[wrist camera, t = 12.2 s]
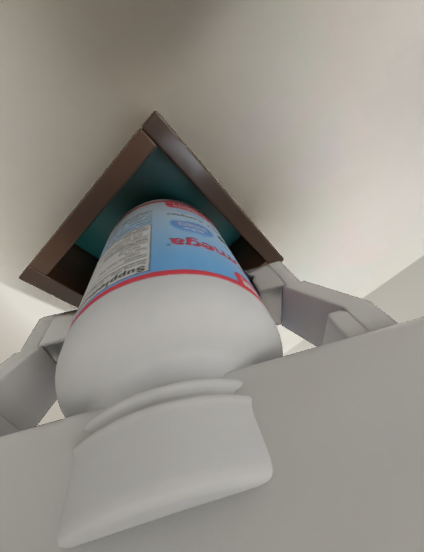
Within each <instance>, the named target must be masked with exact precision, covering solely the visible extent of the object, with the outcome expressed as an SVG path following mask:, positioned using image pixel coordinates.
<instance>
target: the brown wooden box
mask: <svg viewBox="0 0 424 552" xmlns="http://www.w3.org/2000/svg"><path fill="white" fill-rule="evenodd" d="M157 199H172V200H178V201H182V202H185V203H187V204H190V205H192V206H194V207H196V208H197V209H199V210H200V211H201V212H203V213H204V214H205V215H206V216H207V217H208V218H209V219H210V220H211V222H212V223H213V224H214V226H215V227H216V229H217V230H218V232H219V234H220V235H221V237H222V238H223V240H224V241H225V243H226V245H227V246H228V248H229V249H230V251H231V253H232V254H233V256H234V257H235V259H236V261H237V262H238V264H239V265H240V267H241V269H242V270H243V271H244V270H248V269H252V268H256V267H260V266H264V265H267V264H270V263H274V262H278V261H280V262H282V261H283V260H284V259H283V257H282V256H281V255H280V254H279V253H278V251H277V250H276V249H275V248H274V247H273V246H272V244H271V243H270V242H269V241H268V240H267V239H266V237H265V236H264V235H263V234H262V233H261V232H260V231H259V229H258V228H257V227H256V226H255V225H254V224H253V222H252V221H251V220H250V219H249V218H248V217H247V215H246V214H245V213H244V212H243V211H242V210H241V208H240V207H239V206H238V205H237V204H236V203H235V201H234V200H233V199H232V198H231V197H230V196H229V195H228V193H227V192H226V191H225V190H224V189H223V188H222V186H221V185H220V184H219V183H218V182H217V181H216V179H215V178H214V177H213V176H212V175H211V174H210V172H209V171H208V170H207V169H206V168H205V167H204V165H203V164H202V163H201V162H200V161H199V160H198V158H197V157H196V156H195V155H194V154H193V153H192V152H191V150H190V149H189V148H188V147H187V146H186V145H185V143H184V142H183V141H182V140H181V139H180V138H179V136H178V135H177V134H176V133H175V132H174V131H173V129H172V128H171V127H170V126H169V125H168V124H167V122H166V121H165V120H164V119H163V118H162V117H161V115H160V114H159V113H158V112H157V111H154V112H153V113H152V114H151V115H150V117H149V118H148V119H147V120H146V121H145V123H144V124H143V125H142V129H139V130H138V131H137V133H136V134H135V135H134V136H133V137H132V139H131V140H130V141H129V142H128V144H127V145H126V146H125V147H124V149H123V150H122V151H121V152H120V153H119V155H118V156H117V157H116V158H115V160H114V161H113V162H112V163H111V164H110V166H109V167H108V168H107V169H106V171H105V172H104V173H103V174H102V176H101V177H100V178H99V179H98V180H97V182H96V183H95V184H94V185H93V187H92V188H91V189H90V190H89V192H88V193H87V194H86V195H85V196H84V198H83V199H82V200H81V201H80V203H79V204H78V205H77V206H76V208H75V209H74V210H73V211H72V212H71V214H70V215H69V216H68V217H67V219H66V220H65V221H64V222H63V224H62V225H61V226H60V227H59V228H58V230H57V231H56V232H55V233H54V235H53V236H52V237H51V238H50V240H49V241H48V242H47V243H46V244H45V246H44V247H43V248H42V249H41V251H40V252H39V253H38V254H37V256H36V257H35V258H34V259H33V260H32V262H31V263H30V264H29V265H28V267H27V268H26V269H25V270H24V271H23V273H22V274H21V275H20V276H19V279H21V280H23V281H25V282H27V283H29V284H31V285H33V286H35V287H37V288H39V289H41V290H43V291H45V292H47V293H49V294H51V295H53V296H55V297H57V298H59V299H61V300H63V301H65V302H67V303H69V304H71V305H73V306H75V307H77V308H79V305H80V303H81V301H82V298H83V296H84V294H85V291H86V289H87V287H88V284H89V282H90V280H91V277H92V275H93V273H94V270H95V268H96V266H97V263H98V261H99V259H100V257H101V254H102V252H103V249H104V247H105V245H106V242H107V240H108V238H109V235H110V233H111V232H112V230H113V228H114V227H115V225H116V224H117V223H118V221H119V220H120V219H121V218H122V217H123V216H124V215H125V214H126V213H127V212H129V211H130V210H131V209H133V208H134V207H136V206H138V205H140V204H142V203H145V202H148V201H151V200H157Z"/></svg>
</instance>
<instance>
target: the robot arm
mask: <svg viewBox="0 0 424 552" xmlns="http://www.w3.org/2000/svg"><path fill="white" fill-rule="evenodd" d="M244 273H245V275H246V276H247V278H248V279H249V281H250V283H251V285H252V286H253V288H254V289H255V291H256V292H257V294H258V295H259V297H260V299H261V300H262V302H263V304H264V305H265V307H266V308H267V310H268V312H269V314H270V316H271V317H272V319H273V321H274V323H275V325H280V324H282V326H284V327H286V328H287V329H289V330H291V331H292V332H294V333H295V334H297V335H299V336H300V337H302V338H304V339H305V340H307V341H309V342H310V343H312V344H314V345H315V346H317V347H315V348H311V349H308V350H304V351H301V352H297V353H294V354H290V355H287V356H283V357H279V358H276V359H272V360H269V361H265V362H262V363H258V364H255V365H251V366H248V367H244V368H240V369H237V370H233V371H230V372H228V373H227V374H225V375H224V376H223V379H234V380H239V381H242V383H243V384H242V386H241V387H240V388H238V389H237V390H235V391H234V394H236V395H244V396H250V397H251V398H252V409H253V413H254V417H255V419H256V422H257V424H258V426H259V429H260V432H261V435H262V437H263V440H264V442H265V445H266V447H267V450H268V453H269V456H270V458H271V463H272V469H273V473H272V477H271V478H270V480H269V481H268V482H266V483H264V484H262V485H260V486H258V487H255V488H252V489H249V490H246V491H243V492H240V493H237V494H233V495H230V496H227V497H224V498H221V499H218V500H214V501H211V502H208V503H205V504H202V505H199V506H195V507H192V508H189V509H186V510H183V511H180V512H176V513H173V514H170V515H167V516H164V517H161V518H158V519H155V520H152V521H149V522H146V523H143V524H140V525H137V526H134V527H131V528H128V529H125V530H122V531H119V532H116V533H114V534H111V535H108V536H105V537H102V538H99V539H96V540H93V541H90V542H87V543H84V544H81V545H78V546H75V547H72V548H61V547H59V546H58V543H57V533H58V528H59V523H60V519H61V514H62V510H63V505H64V501H65V497H66V492H67V488H68V483H69V479H70V475H71V471H72V466H73V461H74V455H73V449H74V448H75V447H76V446H77V445H78V444H79V443H81V442H82V441H84V440H85V439H86V438H88V437H89V436H91V434H92V433H93V432H90V431H86V430H84V427H85V426H86V425H87V424H88V423H89V422H90V421H91V420H92V419H93V418H95V417H96V416H97V415H99V414H100V413H102V412H103V411H105V410H106V409H107V408H105V407H104V408H99V409H96V410H92V411H89V412H85V413H82V414H78V415H74V416H71V417H67V418H64V419H60V420H57V421H54V422H50V423H46V424H43V425H39V426H37V425H38V423H39V422H40V421H41V419H42V418H43V417H44V416H45V414H46V413H47V412H48V410H49V409H50V408H51V406H52V405H53V404H54V403H55V401H56V400H57V395H56V389H55V373H56V365H57V362H58V358H59V355H60V352H61V349H62V346H63V344H64V340H65V338H66V336H67V333H68V331H69V329H70V326H71V324H72V322H73V319H74V317H75V314H76V312H77V310H73V311H69V312H64V313H60V314H55V315H51V316H47V317H43V318H41V319H40V320H39V321H38V323H37V324H36V326H35V328H34V329H33V331H32V333H31V334H30V336H29V338H28V339H27V341H26V343H25V345H24V346H23V348H22V350H21V351H20V352H18V353H15V354H13V355H12V356H11V357H10V358H8V359H7V360H6V361H4V362H3V363H2V364H0V552H424V317H421V318H417V319H414V320H410V321H406V322H403V323H399V324H398V323H397V322H396V321H395V320H393V319H392V318H391V317H390V316H388V315H387V314H385V312H383V311H382V310H381V309H380V308H378V307H377V306H376V305H374V304H373V303H372V302H370V301H367V300H364V299H361V298H358V297H355V296H351V295H348V294H345V293H342V292H338V291H335V290H332V289H329V288H325V287H322V286H319V285H316V284H313V283H309V282H306V281H302V282H300V281H299V280H298V279H297V278H296V277H295V276H294V275H293V274H292V273H291V272H290V271H289V270H288V269H287V268H286V267H285V266H284V265H283V264H282V262H280V261H278V262H274V263H270V264H267V265H264V266H260V267H256V268H252V269H248V270H244Z"/></svg>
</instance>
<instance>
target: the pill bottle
mask: <svg viewBox="0 0 424 552" xmlns="http://www.w3.org/2000/svg"><path fill="white" fill-rule="evenodd" d="M279 357H283V351H282V343H281V339H280V335H279V333H278V330H277V327H276V325H275V323H274V321H273V319H272V317H271V316H270V314H269V312H268V310H267V308H266V307H265V305H264V304H263V302H262V300H261V299H260V297H259V295H258V294H257V292H256V291H255V289H254V288H253V286H252V285H251V283H250V281H249V279H248V278H247V276H246V275H245V273H244V271H243V270H242V269H241V267H240V265H239V264H238V262H237V261H236V259H235V257H234V256H233V254H232V253H231V251H230V249H229V248H228V246H227V245H226V243H225V241H224V240H223V238H222V237H221V235H220V234H219V232H218V230H217V229H216V227H215V226H214V224H213V223H212V222H211V220H210V219H209V218H208V217H207V216H206V215H205V214H204V213H203V212H201V211H200V210H199V209H197V208H196V207H194V206H192V205H190V204H187V203H185V202H182V201H178V200H172V199H157V200H151V201H148V202H145V203H142V204H140V205H138V206H136V207H134V208H133V209H131V210H130V211H129V212H127V213H126V214H125V215H124V216H123V217H122V218H121V219H120V220H119V221H118V223H117V224H116V225H115V227H114V228H113V230H112V232H111V233H110V235H109V238H108V240H107V242H106V245H105V247H104V249H103V252H102V254H101V257H100V259H99V261H98V263H97V266H96V268H95V270H94V273H93V275H92V277H91V280H90V282H89V284H88V287H87V289H86V291H85V294H84V296H83V298H82V301H81V303H80V305H79V308H78V310H77V312H76V314H75V317H74V319H73V322H72V324H71V326H70V329H69V331H68V333H67V336H66V338H65V340H64V344H63V346H62V349H61V352H60V355H59V358H58V362H57V365H56V373H55V389H56V395H57V400H58V403H59V406H60V408H61V410H62V412H63V414H64V416H65V418H67V417H71V416H74V415H78V414H82V413H85V412H89V411H92V410H96V409H99V408H104V407H105V408H107V409H106V410H105V411H103V412H102V413H100V414H99V415H97V416H96V417H95V418H93V419H92V420H91V421H90V422H89V423H88V424H87V425H86V426H85V427H84V430H86V431H90V432H93V433H92V434H91V436H89V437H88V438H86V439H85V440H84V441H82V442H81V443H79V444H78V445H77V446H76V447H75V448H74V449H73V455H74V461H73V466H72V471H71V475H70V479H69V483H68V488H67V492H66V497H65V501H64V505H63V510H62V514H61V519H60V523H59V528H58V533H57V543H58V546H59V547H61V548H72V547H75V546H78V545H81V544H84V543H87V542H90V541H93V540H96V539H99V538H102V537H105V536H108V535H111V534H114V533H116V532H119V531H122V530H125V529H128V528H131V527H134V526H137V525H140V524H143V523H146V522H149V521H152V520H155V519H158V518H161V517H164V516H167V515H170V514H173V513H176V512H180V511H183V510H186V509H189V508H192V507H195V506H199V505H202V504H205V503H208V502H211V501H214V500H218V499H221V498H224V497H227V496H230V495H233V494H237V493H240V492H243V491H246V490H249V489H252V488H255V487H258V486H260V485H262V484H264V483H266V482H268V481H269V480H270V478H271V477H272V473H273V469H272V463H271V458H270V456H269V453H268V450H267V447H266V445H265V442H264V440H263V437H262V435H261V432H260V429H259V426H258V424H257V422H256V419H255V417H254V413H253V409H252V398H251V397H250V396H244V395H236V394H234V391H235V390H237V389H238V388H240V387H241V386H242V384H243V383H242V381H239V380H234V379H223V376H224V375H225V374H227V373H228V372H230V371H233V370H237V369H240V368H244V367H248V366H251V365H255V364H258V363H262V362H265V361H269V360H272V359H276V358H279Z"/></svg>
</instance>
